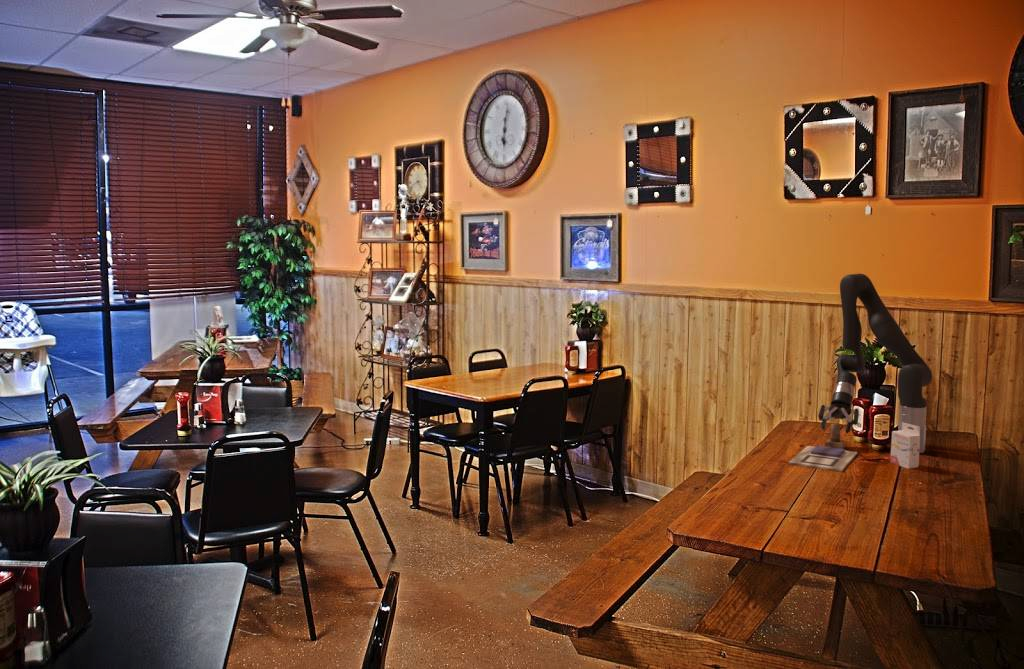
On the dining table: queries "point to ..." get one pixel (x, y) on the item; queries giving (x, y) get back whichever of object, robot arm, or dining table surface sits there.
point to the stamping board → (823, 458)
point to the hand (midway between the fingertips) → (835, 430)
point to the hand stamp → (835, 437)
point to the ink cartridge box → (906, 446)
